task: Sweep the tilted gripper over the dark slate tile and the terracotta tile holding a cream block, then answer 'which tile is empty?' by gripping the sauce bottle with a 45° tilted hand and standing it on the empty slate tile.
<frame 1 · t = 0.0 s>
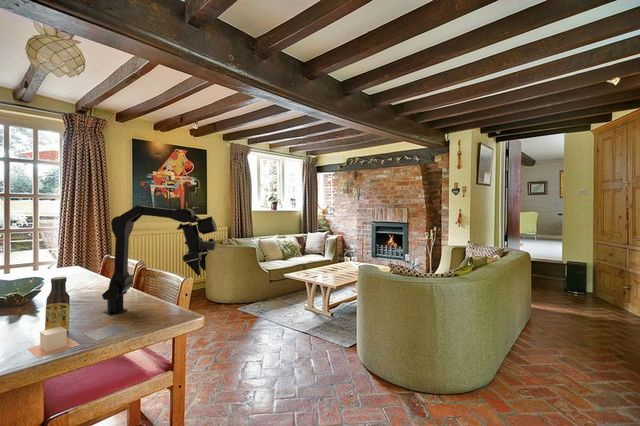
hand: (202, 272, 132), 15 cm above the table, tool pointing down, fingers open, 9 cm apart
cream block: (53, 346, 95), point 1 cm above the table, touching terracotta tile
sauce bottle: (57, 336, 104), on the table
terracotta tile: (53, 348, 95), on the table
slate tile: (106, 333, 106), on the table
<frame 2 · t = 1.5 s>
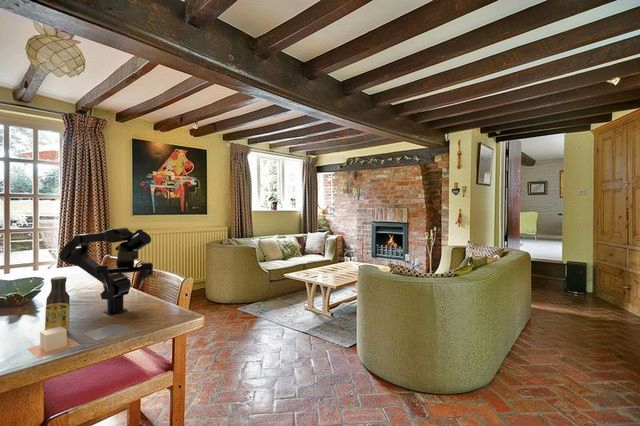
hand: (124, 289, 115), 13 cm above the table, tool tilted 45°, fingers open, 9 cm apart
nothing on the table moved.
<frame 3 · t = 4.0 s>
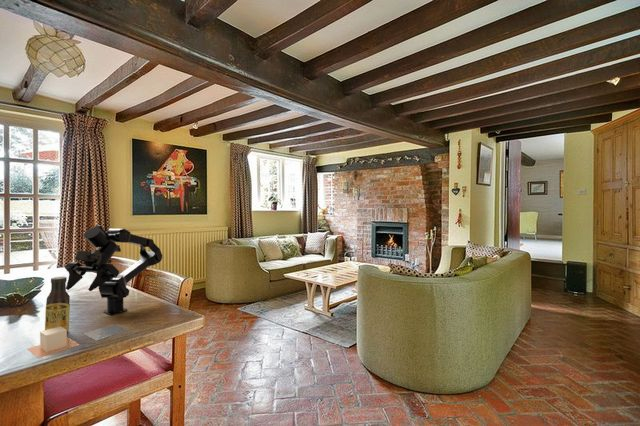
hand: (78, 290, 111), 14 cm above the table, tool tilted 45°, fingers open, 9 cm apart
nothing on the table moved.
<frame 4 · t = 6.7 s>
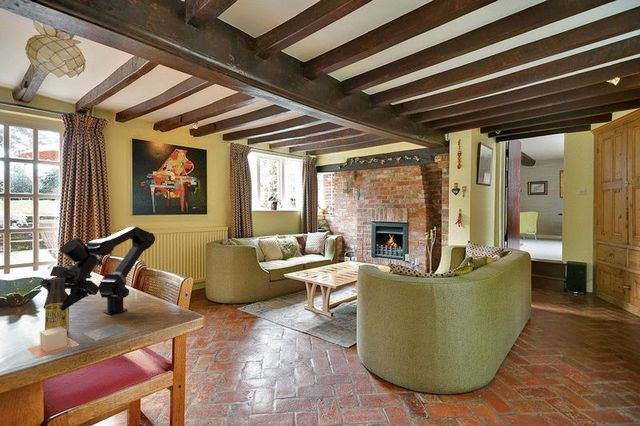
hand: (53, 309, 102), 10 cm above the table, tool tilted 45°, fingers closed on sauce bottle, 6 cm apart
sauce bottle: (57, 336, 104), on the table, touching gripper
everything else where it was.
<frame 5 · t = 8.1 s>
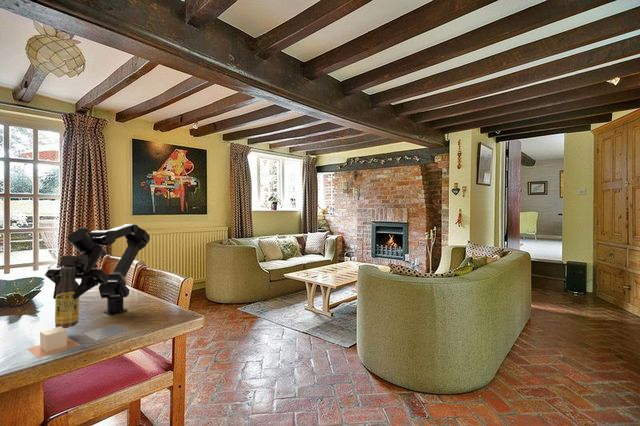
hand: (64, 298, 102), 13 cm above the table, tool tilted 45°, fingers closed on sauce bottle, 6 cm apart
sauce bottle: (67, 326, 104), point 3 cm above the table, touching gripper
everything else where it was.
when the fingers open (11 cm above the table, at t = 9.9 s): sauce bottle drops 1 cm, resting on slate tile.
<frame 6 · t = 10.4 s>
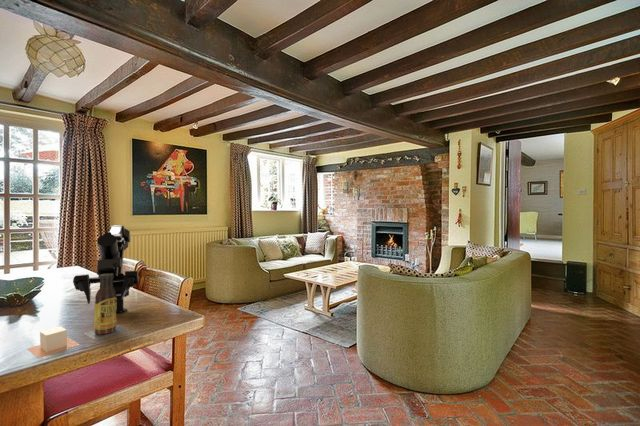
hand: (105, 301, 105), 12 cm above the table, tool tilted 45°, fingers open, 9 cm apart
sauce bottle: (105, 332, 106), resting on slate tile
everything else where it was.
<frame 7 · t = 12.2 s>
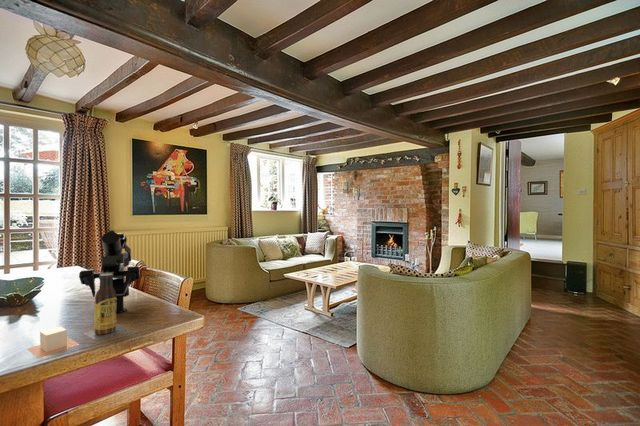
hand: (109, 294, 112), 12 cm above the table, tool tilted 45°, fingers open, 9 cm apart
nothing on the table moved.
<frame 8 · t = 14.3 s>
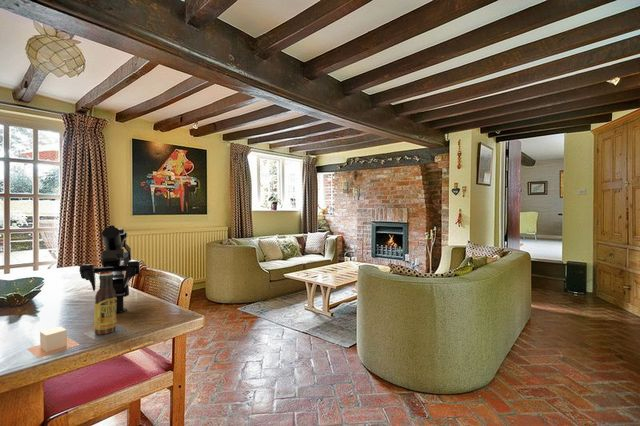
hand: (109, 288, 113), 14 cm above the table, tool tilted 45°, fingers open, 9 cm apart
nothing on the table moved.
at the end: sauce bottle 0.2 cm off-centre on the slate tile, point 0.4 cm above the slate tile's base; sauce bottle tilted 0°; the gripper is holding nothing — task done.
